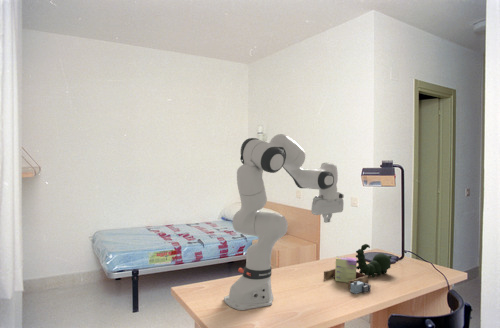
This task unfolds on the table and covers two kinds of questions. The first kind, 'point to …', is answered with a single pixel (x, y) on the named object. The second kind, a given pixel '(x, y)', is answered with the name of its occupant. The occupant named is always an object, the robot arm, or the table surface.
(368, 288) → the bracket
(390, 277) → the table surface
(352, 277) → the box
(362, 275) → the wooden square frame
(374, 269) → the toy figurine
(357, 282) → the blue block with knob
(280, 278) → the table surface
